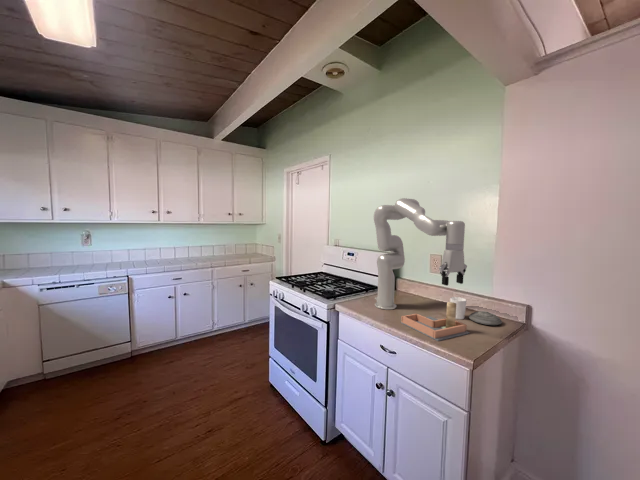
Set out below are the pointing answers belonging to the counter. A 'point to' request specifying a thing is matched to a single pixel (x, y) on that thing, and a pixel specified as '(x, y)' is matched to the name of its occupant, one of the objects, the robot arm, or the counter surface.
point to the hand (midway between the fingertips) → (452, 284)
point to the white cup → (459, 306)
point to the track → (434, 327)
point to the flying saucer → (485, 318)
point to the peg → (450, 314)
